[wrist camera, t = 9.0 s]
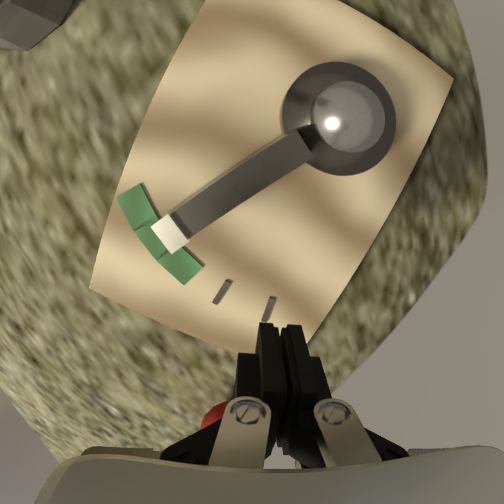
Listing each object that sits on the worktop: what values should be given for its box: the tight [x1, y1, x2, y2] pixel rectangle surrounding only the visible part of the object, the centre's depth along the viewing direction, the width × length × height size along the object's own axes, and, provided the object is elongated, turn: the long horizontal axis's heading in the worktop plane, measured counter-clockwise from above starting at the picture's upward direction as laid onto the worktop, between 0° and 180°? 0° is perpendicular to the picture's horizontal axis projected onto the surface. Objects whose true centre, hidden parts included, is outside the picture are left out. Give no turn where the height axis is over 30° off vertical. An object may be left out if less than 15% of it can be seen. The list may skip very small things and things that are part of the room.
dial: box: [151, 62, 396, 254], centre depth 16 cm, size 15×6×4 cm, turn 124°
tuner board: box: [89, 0, 454, 354], centre depth 20 cm, size 26×17×2 cm, turn 154°
